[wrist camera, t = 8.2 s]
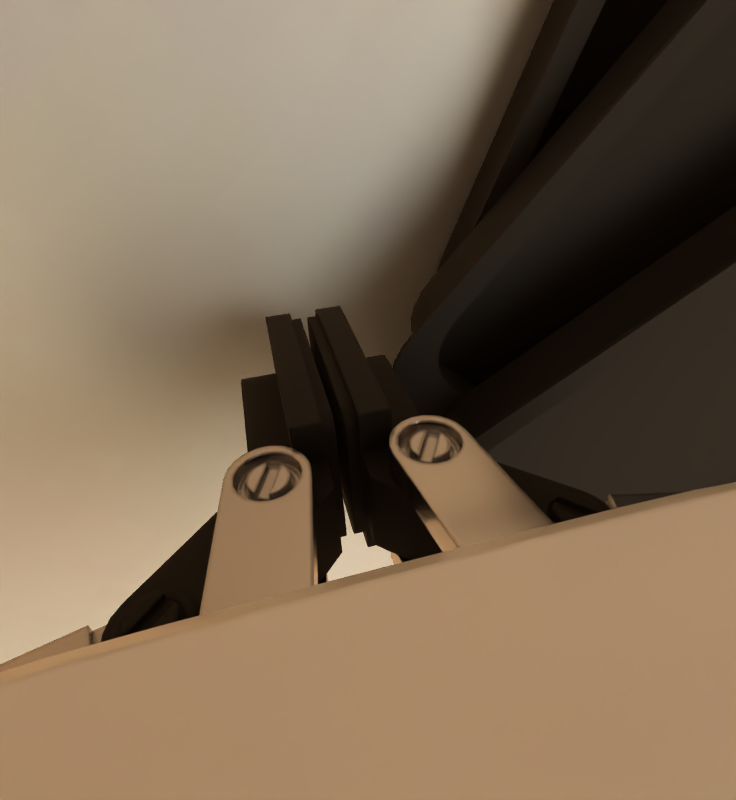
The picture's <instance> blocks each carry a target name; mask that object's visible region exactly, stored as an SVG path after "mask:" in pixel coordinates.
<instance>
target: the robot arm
mask: <svg viewBox="0 0 736 800" xmlns="http://www.w3.org/2000/svg"><path fill="white" fill-rule="evenodd" d="M265 318H266V323H267V329H268V334H269V340H270V345H271V351H272V356H273V361H274V367H275V372H276V373H275V374H269V375H264V376H258V377H252V378H247V379H241V387H242V398H243V408H244V419H245V429H246V440H247V450H248V453H245V454H244V455H242V456H241V457H239V458H238V459H237V460H235V461H234V462H233V464H232V465H231V466H230V467H229V468H228V469H227V472H226V474H225V477H224V479H223V484H222V490H221V495H220V501H219V507H218V512H217V513H216V514H215V515H213V516H212V517H211V518H210V519H209V520H208V521H207V522H206V523H205V524H204V525H203V526H202V527H201V528H200V529H199V530H198V531H197V532H196V533H195V534H194V535H193V536H192V537H191V538H190V539H189V540H188V541H187V542H186V543H185V544H184V545H183V546H181V547H180V548H179V549H178V550H177V551H176V552H175V553H174V554H173V555H172V556H171V557H170V558H169V559H168V560H167V561H166V562H165V563H164V564H163V565H162V566H161V567H160V568H159V569H158V570H157V571H156V572H155V573H154V574H153V575H152V576H151V577H150V578H148V579H147V580H146V581H145V582H144V583H143V584H142V585H141V586H140V587H139V588H138V589H137V590H136V591H135V592H134V593H133V594H132V595H131V596H130V597H129V598H128V599H127V600H126V601H125V602H124V603H123V604H122V605H121V606H120V607H119V608H118V610H117V611H116V612H115V613H114V614H113V616H112V617H111V618H110V620H109V622H108V624H107V625H105V626H103V627H101V628H99V629H96V630H94V631H92V630H91V628H90V627H89V626H85V627H83V628H81V629H79V630H76V631H74V632H72V633H70V634H67V635H65V636H63V637H61V638H59V639H56V640H54V641H52V642H50V643H47V644H45V645H43V646H41V647H38V648H36V649H34V650H32V651H30V652H27V653H25V654H23V655H21V656H18V657H16V658H14V659H12V660H9V661H7V662H5V663H3V664H0V800H736V482H734V483H729V484H723V485H718V486H713V487H707V488H702V489H697V490H692V491H688V492H668V493H642V494H617V495H607V497H606V500H605V501H601V500H600V499H599V498H597V497H596V496H593V495H591V494H589V493H587V492H585V491H582V490H579V489H576V488H573V487H570V486H567V485H564V484H561V483H558V482H555V481H552V480H549V479H546V478H543V477H540V476H537V475H534V474H531V473H529V472H526V471H523V470H520V469H517V468H514V467H511V466H508V465H505V464H502V463H499V462H496V461H495V460H494V459H493V458H492V457H491V456H490V455H489V454H488V453H487V451H486V450H485V449H484V448H483V447H482V446H481V445H480V444H479V443H478V442H477V441H476V440H475V439H474V438H473V437H472V435H471V434H470V433H469V432H468V431H467V430H466V429H465V428H464V427H462V426H461V425H460V424H458V423H457V422H455V421H453V420H451V419H448V418H446V417H441V416H436V415H421V416H420V415H419V414H418V412H417V410H416V408H415V407H414V405H413V403H412V401H411V399H410V398H409V396H408V394H407V392H406V391H405V389H404V387H403V385H402V384H401V382H400V380H399V378H398V377H397V375H396V373H395V371H394V370H393V368H392V366H391V364H390V363H389V361H388V359H387V358H386V356H385V355H379V356H373V357H367V358H366V357H365V355H364V353H363V351H362V349H361V347H360V345H359V343H358V341H357V339H356V337H355V335H354V333H353V331H352V329H351V327H350V325H349V323H348V321H347V319H346V317H345V315H344V313H343V311H342V309H341V307H340V306H336V307H329V308H322V309H316V310H315V316H313V317H307V322H308V330H309V338H310V345H309V342H308V339H307V336H306V333H305V330H304V327H303V324H302V321H301V319H293V320H292V319H291V316H290V314H283V315H276V316H270V317H265ZM310 346H311V348H310ZM343 499H344V503H345V506H346V509H347V513H348V516H349V519H350V523H351V526H352V529H353V532H354V534H355V533H360V532H363V533H364V536H365V540H366V543H367V546H368V547H371V546H375V545H377V546H379V547H382V548H384V549H386V550H388V551H390V552H391V557H392V560H393V563H394V565H391V566H387V567H383V568H379V569H375V570H371V571H368V572H364V573H360V574H356V575H352V576H348V577H344V578H340V579H337V580H333V581H328V575H327V572H328V571H329V570H330V568H331V567H332V565H333V564H334V563H335V561H336V560H337V559H338V557H339V556H340V554H341V553H342V546H341V538H340V537H343V536H346V535H347V534H346V524H345V514H344V504H343Z"/></svg>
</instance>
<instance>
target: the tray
mask: <svg viewBox="0 0 736 800" xmlns="http://www.w3.org/2000/svg"><path fill="white" fill-rule="evenodd" d="M411 331H412V335H411V336H410V337H409V339H408V340H407V341H406V342H405V344H404V345H403V346H402V348H401V350H400V352H399V354H398V356H397V358H396V360H395V361H394V365H393V370H394V371H395V373H396V375H397V377H398V378H399V380H400V382H401V384H402V385H403V387H404V389H405V391H406V392H407V394H408V396H409V398H410V399H411V401H412V403H413V405H414V407H415V408H416V410H417V412H418V414H419V415H420V416H421V415H436V416H441V417H446V418H448V419H451V420H453V421H455V422H457V423H458V424H460V425H461V426H462V427H464V428H465V429H466V430H467V431H468V432H469V433H470V434H471V435H472V437H473V438H474V439H475V440H476V441H477V442H478V443H479V444H480V445H481V446H482V447H483V448H484V449H485V450H486V451H487V453H488V454H489V455H490V456H491V457H492V458H493V459H494V460H495V461H496V462H499V463H502V464H505V465H508V466H511V467H514V468H517V469H520V470H523V471H526V472H529V473H531V474H534V475H537V476H540V477H543V478H546V479H549V480H552V481H555V482H558V483H561V484H564V485H567V486H570V487H573V488H576V489H579V490H582V491H585V492H587V493H589V494H591V495H593V496H596V497H597V498H599V499H600V500H601V501H605V500H606V497H607V495H617V494H642V493H668V492H688V491H692V490H697V489H702V488H707V487H713V486H718V485H723V484H729V483H734V482H736V0H554V2H553V4H552V7H551V9H550V11H549V14H548V16H547V18H546V20H545V23H544V25H543V27H542V30H541V32H540V34H539V36H538V39H537V41H536V43H535V46H534V48H533V50H532V52H531V55H530V57H529V59H528V62H527V64H526V66H525V68H524V71H523V73H522V75H521V78H520V80H519V82H518V84H517V87H516V89H515V91H514V94H513V96H512V98H511V100H510V103H509V105H508V107H507V110H506V112H505V114H504V116H503V119H502V121H501V123H500V126H499V128H498V130H497V132H496V135H495V137H494V139H493V142H492V144H491V146H490V148H489V151H488V153H487V155H486V158H485V160H484V162H483V165H482V167H481V169H480V171H479V174H478V176H477V178H476V181H475V183H474V185H473V187H472V190H471V192H470V194H469V197H468V199H467V201H466V203H465V206H464V208H463V210H462V213H461V215H460V217H459V219H458V222H457V224H456V226H455V229H454V231H453V233H452V235H451V238H450V240H449V242H448V245H447V247H446V249H445V251H444V254H443V256H442V259H441V261H440V264H439V267H438V270H437V273H436V274H435V275H434V276H433V277H432V279H431V280H430V281H429V283H428V284H427V285H426V287H425V288H424V289H423V291H422V292H421V294H420V296H419V298H418V300H417V302H416V303H415V305H414V309H413V313H412V317H411Z"/></svg>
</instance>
